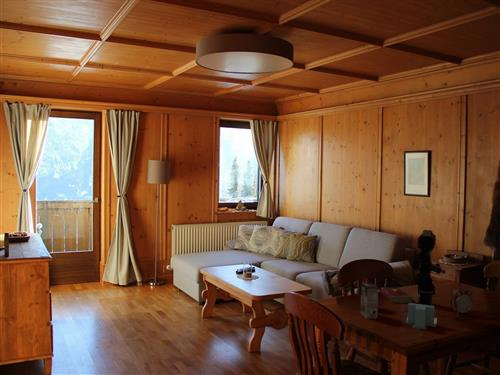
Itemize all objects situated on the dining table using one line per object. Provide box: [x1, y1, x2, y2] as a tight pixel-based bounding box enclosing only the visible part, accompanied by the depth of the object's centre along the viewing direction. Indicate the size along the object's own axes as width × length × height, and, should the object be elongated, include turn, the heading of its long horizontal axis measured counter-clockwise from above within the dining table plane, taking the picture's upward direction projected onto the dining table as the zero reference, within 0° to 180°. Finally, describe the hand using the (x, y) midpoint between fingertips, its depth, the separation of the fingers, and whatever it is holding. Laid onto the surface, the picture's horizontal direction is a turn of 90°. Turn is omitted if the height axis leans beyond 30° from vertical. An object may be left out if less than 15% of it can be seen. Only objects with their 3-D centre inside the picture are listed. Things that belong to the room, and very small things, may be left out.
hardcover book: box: [380, 287, 414, 304], centre depth 278 cm, size 12×21×4 cm, turn 1°
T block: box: [407, 302, 435, 330], centre depth 227 cm, size 9×12×9 cm
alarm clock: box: [450, 284, 473, 315], centre depth 249 cm, size 11×5×15 cm, turn 105°
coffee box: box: [360, 282, 379, 319], centre depth 242 cm, size 9×6×16 cm
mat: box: [405, 316, 438, 330], centre depth 232 cm, size 21×14×1 cm, turn 156°
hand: (424, 287), depth 250 cm, fingers closed
